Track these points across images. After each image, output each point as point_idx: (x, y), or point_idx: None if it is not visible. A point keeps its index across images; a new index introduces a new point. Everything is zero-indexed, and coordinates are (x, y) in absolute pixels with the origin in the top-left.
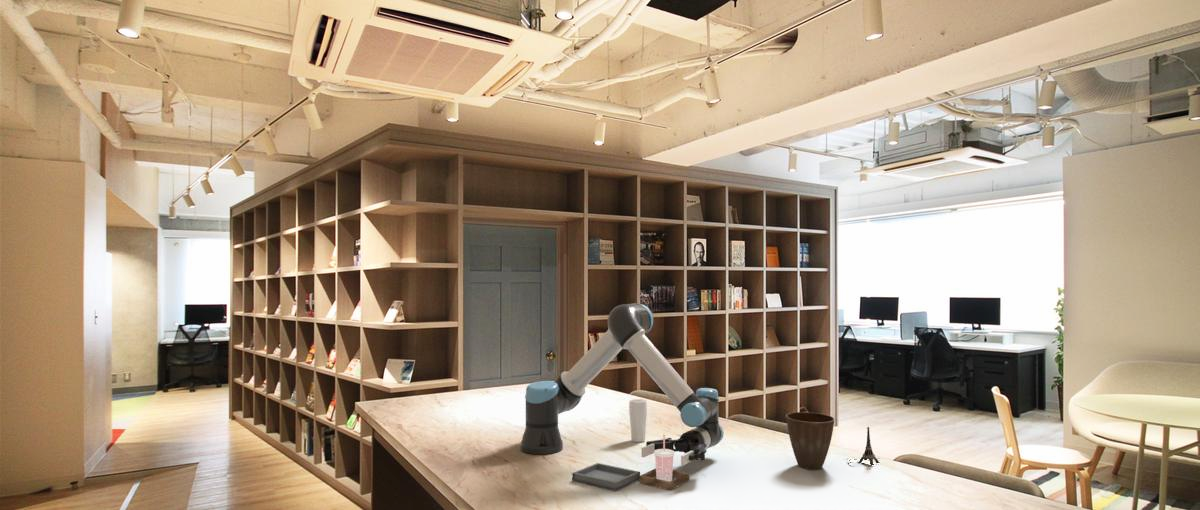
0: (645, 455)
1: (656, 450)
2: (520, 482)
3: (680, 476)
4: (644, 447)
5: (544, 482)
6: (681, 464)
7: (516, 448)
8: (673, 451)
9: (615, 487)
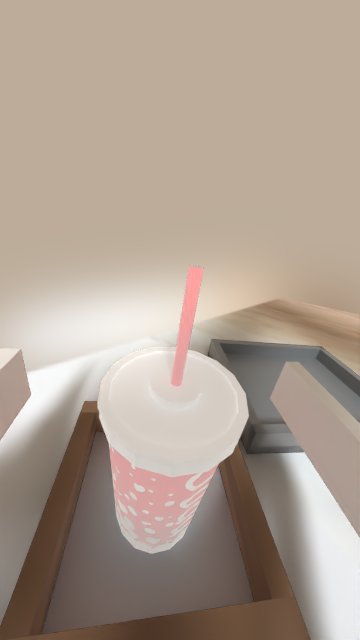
0: (281, 408)
1: (232, 387)
2: (331, 331)
3: (58, 519)
4: (308, 377)
5: (320, 340)
6: (28, 392)
7: None
8: (113, 421)
9: (210, 347)
